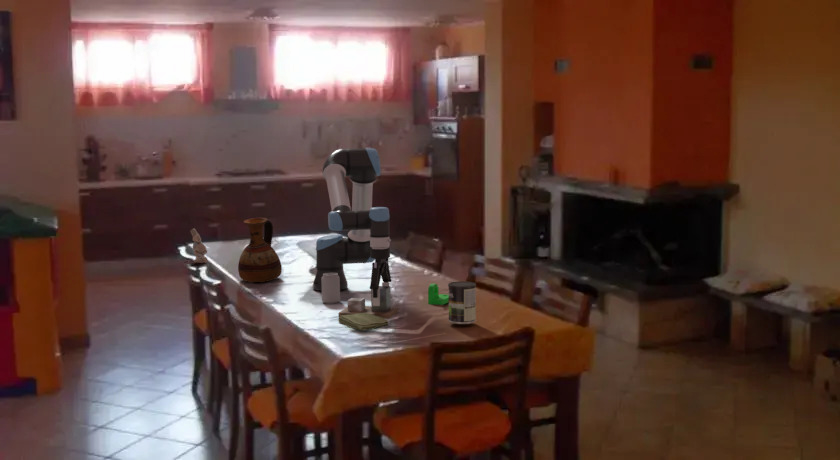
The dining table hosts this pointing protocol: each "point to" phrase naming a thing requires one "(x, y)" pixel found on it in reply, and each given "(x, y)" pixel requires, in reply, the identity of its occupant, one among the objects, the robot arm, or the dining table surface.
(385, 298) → the dark grey block
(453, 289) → the coffee can
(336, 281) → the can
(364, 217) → the robot arm
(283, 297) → the dining table surface
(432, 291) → the mechanical part
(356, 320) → the washcloth
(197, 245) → the figurine
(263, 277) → the ceramic pitcher
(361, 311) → the board
